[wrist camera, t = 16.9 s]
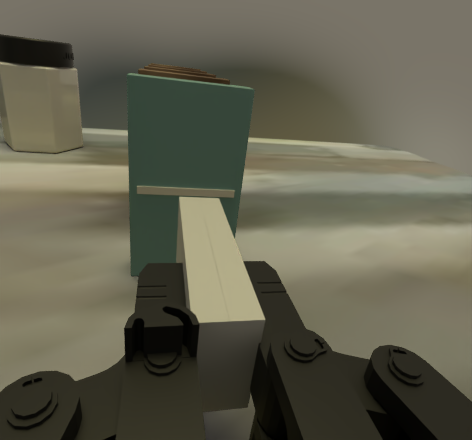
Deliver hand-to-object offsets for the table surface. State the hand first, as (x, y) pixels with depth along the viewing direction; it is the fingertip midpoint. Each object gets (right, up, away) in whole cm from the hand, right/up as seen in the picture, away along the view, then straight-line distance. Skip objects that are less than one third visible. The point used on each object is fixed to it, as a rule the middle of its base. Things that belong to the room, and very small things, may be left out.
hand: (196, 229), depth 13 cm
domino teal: (-2, -3, +8) cm, 9 cm away
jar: (-23, +10, +29) cm, 38 cm away
